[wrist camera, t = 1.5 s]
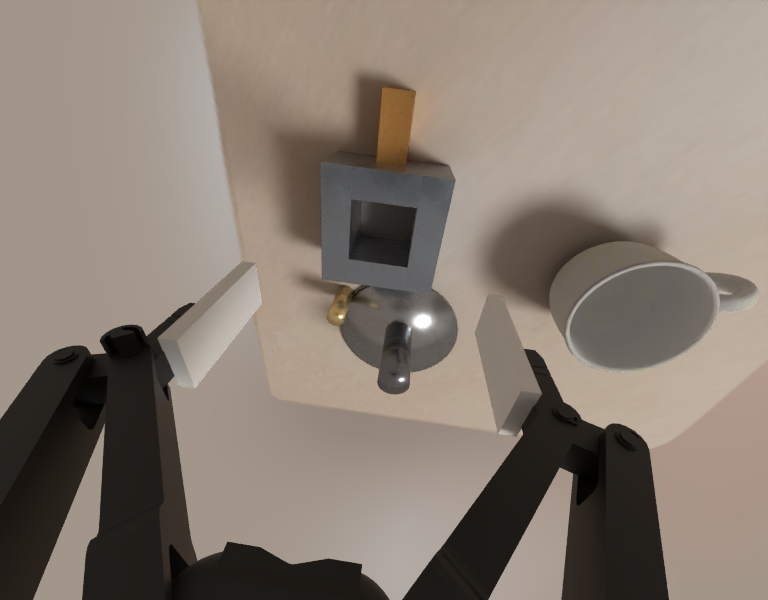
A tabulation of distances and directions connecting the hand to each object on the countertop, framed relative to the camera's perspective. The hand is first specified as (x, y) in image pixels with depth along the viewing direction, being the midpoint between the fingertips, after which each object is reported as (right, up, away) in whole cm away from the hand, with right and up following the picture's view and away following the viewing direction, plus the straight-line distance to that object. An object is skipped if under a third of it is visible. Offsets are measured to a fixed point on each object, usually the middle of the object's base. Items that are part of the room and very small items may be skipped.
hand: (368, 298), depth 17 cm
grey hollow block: (+1, +10, +11) cm, 15 cm away
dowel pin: (-4, +1, +18) cm, 18 cm away
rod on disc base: (+3, -4, +20) cm, 20 cm away
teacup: (+24, +2, +13) cm, 28 cm away
